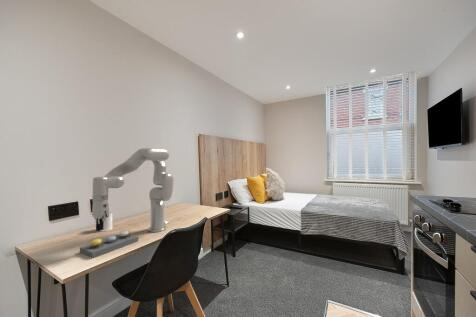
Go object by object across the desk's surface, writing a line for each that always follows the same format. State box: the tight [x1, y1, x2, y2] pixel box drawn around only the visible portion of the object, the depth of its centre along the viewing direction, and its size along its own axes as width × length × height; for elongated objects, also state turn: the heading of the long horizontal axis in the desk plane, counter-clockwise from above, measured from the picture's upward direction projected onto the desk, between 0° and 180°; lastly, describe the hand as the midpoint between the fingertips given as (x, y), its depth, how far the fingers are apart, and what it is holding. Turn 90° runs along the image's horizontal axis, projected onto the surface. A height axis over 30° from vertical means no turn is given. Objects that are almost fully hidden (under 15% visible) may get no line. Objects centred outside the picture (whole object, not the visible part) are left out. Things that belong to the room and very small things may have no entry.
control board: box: [79, 233, 139, 259], centre depth 120 cm, size 26×14×3 cm, turn 150°
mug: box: [95, 211, 114, 233], centre depth 150 cm, size 12×8×12 cm
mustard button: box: [90, 238, 103, 246], centre depth 113 cm, size 5×5×2 cm
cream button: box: [119, 229, 130, 236], centre depth 127 cm, size 5×5×2 cm
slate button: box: [105, 235, 117, 242], centre depth 120 cm, size 5×5×2 cm
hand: (99, 230), depth 115 cm, fingers closed
